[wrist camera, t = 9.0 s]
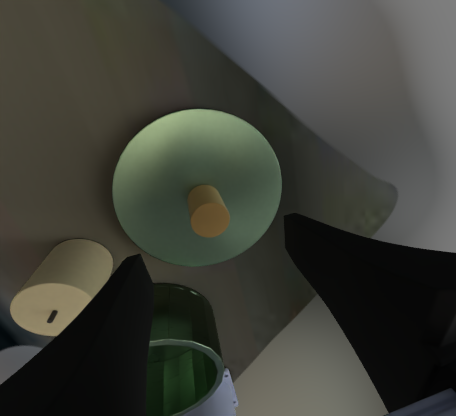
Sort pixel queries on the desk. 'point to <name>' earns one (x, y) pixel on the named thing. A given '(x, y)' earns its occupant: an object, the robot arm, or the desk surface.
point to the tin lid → (196, 187)
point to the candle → (62, 286)
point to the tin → (181, 352)
